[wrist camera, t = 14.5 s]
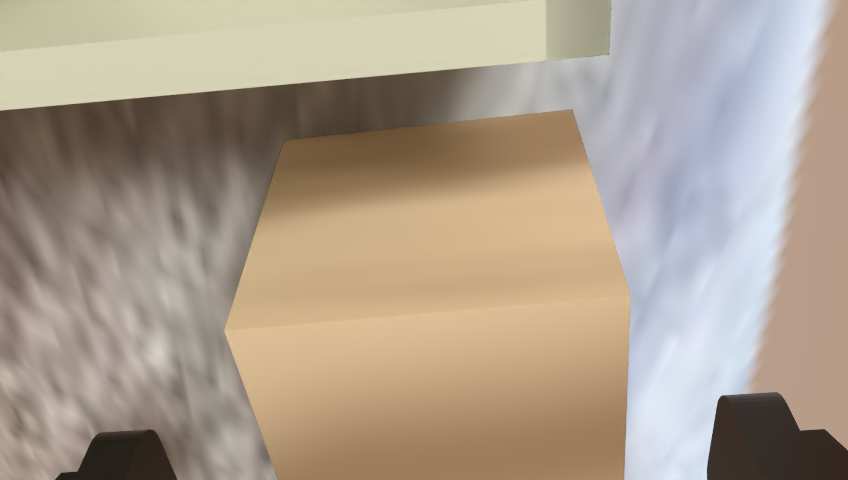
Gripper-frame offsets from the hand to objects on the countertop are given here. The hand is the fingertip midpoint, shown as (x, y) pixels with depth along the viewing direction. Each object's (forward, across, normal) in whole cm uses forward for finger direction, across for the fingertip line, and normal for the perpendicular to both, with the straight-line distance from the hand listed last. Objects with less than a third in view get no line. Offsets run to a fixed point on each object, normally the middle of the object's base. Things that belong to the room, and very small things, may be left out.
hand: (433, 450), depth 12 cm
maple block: (+5, 0, 0) cm, 5 cm away
